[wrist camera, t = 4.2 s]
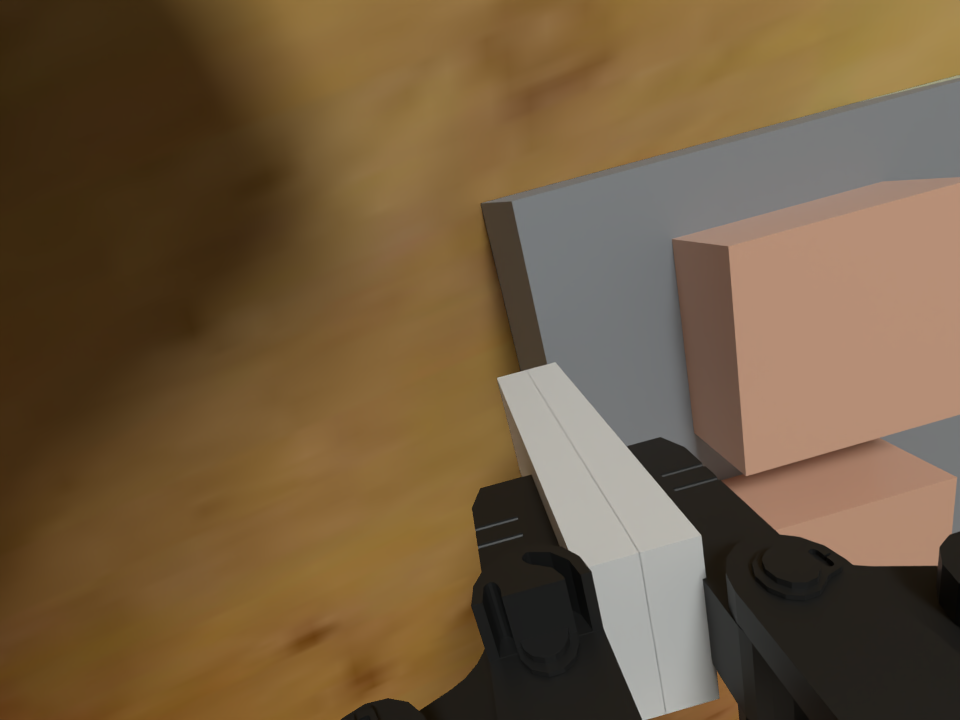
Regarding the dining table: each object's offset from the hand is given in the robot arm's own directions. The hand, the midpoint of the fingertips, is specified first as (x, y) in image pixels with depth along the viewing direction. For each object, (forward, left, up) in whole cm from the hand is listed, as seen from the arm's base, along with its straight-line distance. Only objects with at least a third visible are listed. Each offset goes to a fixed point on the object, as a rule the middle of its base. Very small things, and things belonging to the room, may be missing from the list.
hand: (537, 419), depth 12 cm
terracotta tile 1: (0, +8, -2) cm, 8 cm away
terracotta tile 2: (+8, +8, -2) cm, 11 cm away
